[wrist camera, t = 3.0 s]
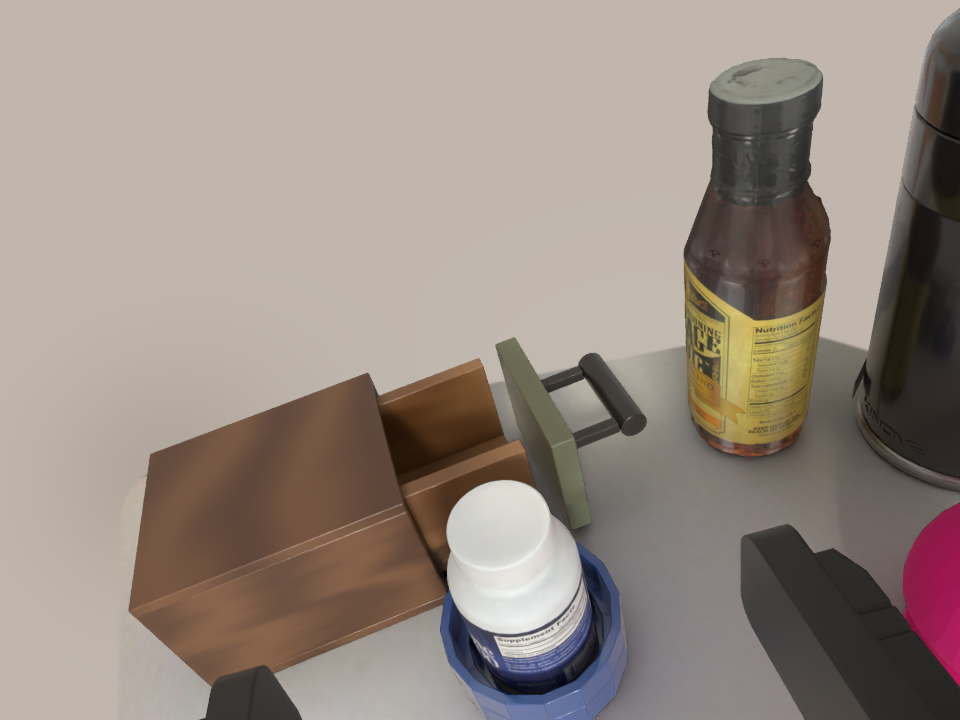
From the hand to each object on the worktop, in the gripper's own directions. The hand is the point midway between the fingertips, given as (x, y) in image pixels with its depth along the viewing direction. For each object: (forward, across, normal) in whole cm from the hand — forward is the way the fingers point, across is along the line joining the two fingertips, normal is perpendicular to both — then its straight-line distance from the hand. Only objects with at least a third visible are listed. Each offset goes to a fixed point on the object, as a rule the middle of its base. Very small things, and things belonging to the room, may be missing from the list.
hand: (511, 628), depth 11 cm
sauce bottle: (+21, -15, +18) cm, 31 cm away
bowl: (+12, 0, +19) cm, 22 cm away
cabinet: (+20, +10, +18) cm, 29 cm away
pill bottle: (+12, 0, +19) cm, 22 cm away
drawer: (+21, 0, +17) cm, 27 cm away
